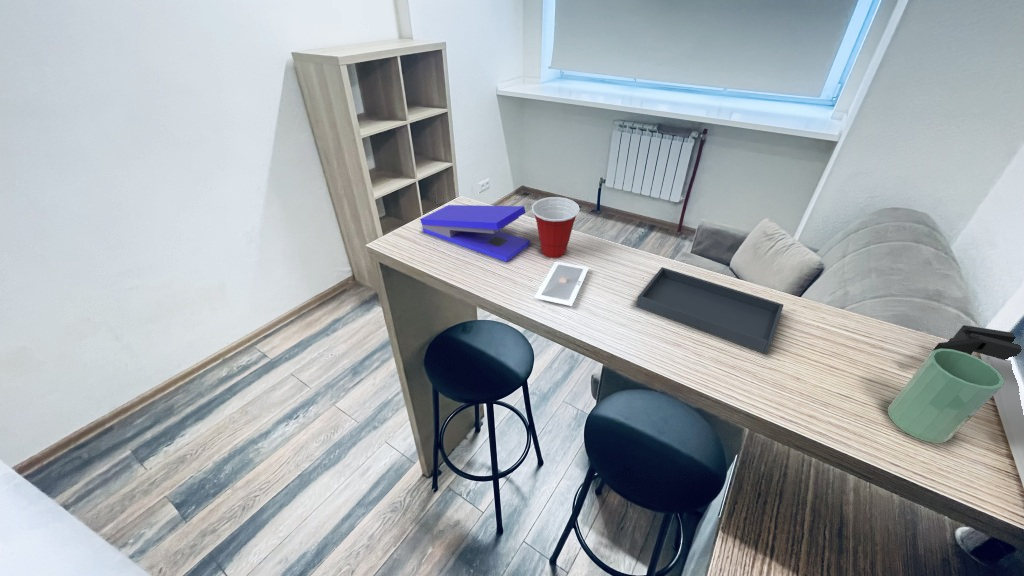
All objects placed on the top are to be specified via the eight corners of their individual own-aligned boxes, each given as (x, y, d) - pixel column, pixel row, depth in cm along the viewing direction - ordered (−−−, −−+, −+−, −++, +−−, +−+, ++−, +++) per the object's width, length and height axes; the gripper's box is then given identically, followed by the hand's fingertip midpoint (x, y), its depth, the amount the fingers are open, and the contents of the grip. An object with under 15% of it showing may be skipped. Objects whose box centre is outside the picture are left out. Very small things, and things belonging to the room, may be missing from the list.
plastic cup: (528, 262, 95) (528, 215, 88) (533, 240, 104) (534, 195, 97) (575, 265, 93) (579, 218, 86) (576, 243, 102) (580, 198, 95)
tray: (779, 314, 78) (783, 304, 76) (766, 354, 69) (771, 343, 68) (659, 276, 89) (661, 266, 88) (636, 306, 80) (638, 296, 79)
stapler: (505, 263, 95) (503, 224, 89) (419, 232, 108) (414, 197, 103) (531, 243, 102) (532, 206, 97) (449, 217, 116) (445, 183, 110)
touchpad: (533, 302, 82) (533, 293, 81) (555, 265, 94) (555, 257, 92) (571, 310, 80) (572, 301, 79) (588, 271, 91) (589, 263, 90)
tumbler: (962, 436, 56) (1018, 381, 49) (925, 448, 54) (977, 393, 48) (910, 398, 61) (955, 344, 55) (875, 408, 60) (917, 354, 53)
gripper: (1230, 465, 49) (1081, 491, 47) (999, 330, 69) (888, 344, 67) (1298, 426, 45) (1138, 453, 43) (1031, 295, 65) (913, 308, 63)
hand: (985, 386), depth 55 cm, fingers open, 13 cm apart
